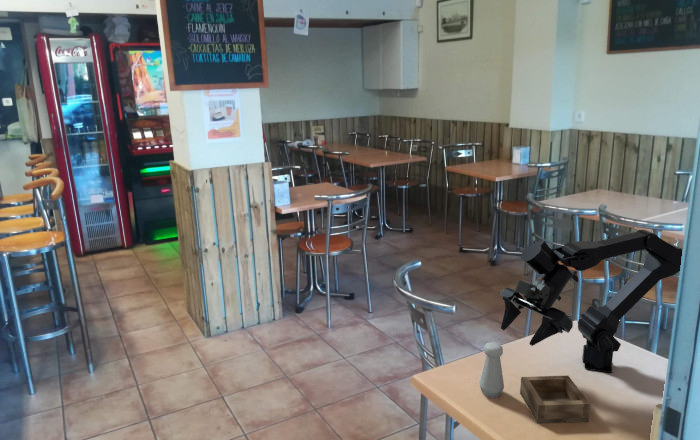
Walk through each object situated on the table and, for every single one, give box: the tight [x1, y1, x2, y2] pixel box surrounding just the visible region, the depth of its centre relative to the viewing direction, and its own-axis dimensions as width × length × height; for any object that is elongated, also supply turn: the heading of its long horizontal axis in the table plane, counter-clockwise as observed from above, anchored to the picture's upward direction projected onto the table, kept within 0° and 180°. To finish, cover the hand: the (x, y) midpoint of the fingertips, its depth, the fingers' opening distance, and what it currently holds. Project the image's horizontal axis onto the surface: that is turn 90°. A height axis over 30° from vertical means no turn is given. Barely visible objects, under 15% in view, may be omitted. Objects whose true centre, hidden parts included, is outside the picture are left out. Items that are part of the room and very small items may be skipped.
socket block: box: [519, 375, 591, 424], centre depth 120 cm, size 11×11×4 cm
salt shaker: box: [479, 341, 505, 399], centre depth 125 cm, size 6×6×13 cm
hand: (515, 336), depth 126 cm, fingers open, 9 cm apart
